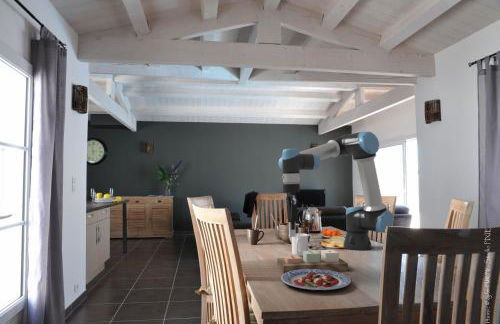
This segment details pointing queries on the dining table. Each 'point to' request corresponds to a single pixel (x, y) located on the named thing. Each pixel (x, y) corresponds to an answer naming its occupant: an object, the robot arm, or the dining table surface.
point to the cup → (299, 244)
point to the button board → (312, 265)
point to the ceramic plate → (316, 279)
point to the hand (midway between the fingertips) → (292, 236)
